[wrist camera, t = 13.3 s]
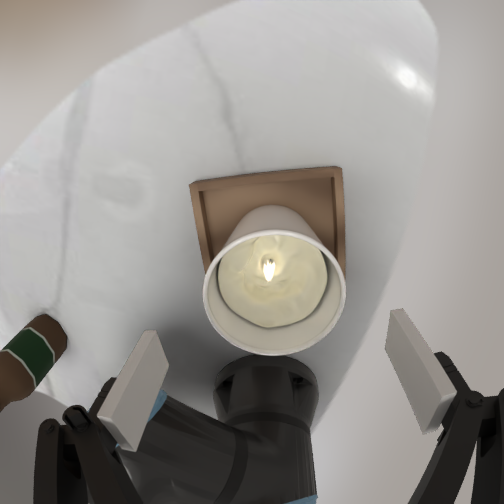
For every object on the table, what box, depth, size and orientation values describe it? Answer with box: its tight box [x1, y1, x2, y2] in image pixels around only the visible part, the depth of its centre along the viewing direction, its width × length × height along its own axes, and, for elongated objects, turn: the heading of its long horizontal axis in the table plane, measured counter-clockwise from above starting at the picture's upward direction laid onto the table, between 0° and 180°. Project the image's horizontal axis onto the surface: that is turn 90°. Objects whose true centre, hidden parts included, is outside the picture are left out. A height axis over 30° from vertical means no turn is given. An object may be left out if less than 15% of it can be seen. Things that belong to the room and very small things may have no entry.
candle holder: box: [203, 205, 346, 356], centre depth 25 cm, size 10×10×12 cm
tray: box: [189, 166, 345, 279], centre depth 30 cm, size 15×15×2 cm
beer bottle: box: [0, 314, 67, 412], centre depth 28 cm, size 8×8×24 cm
